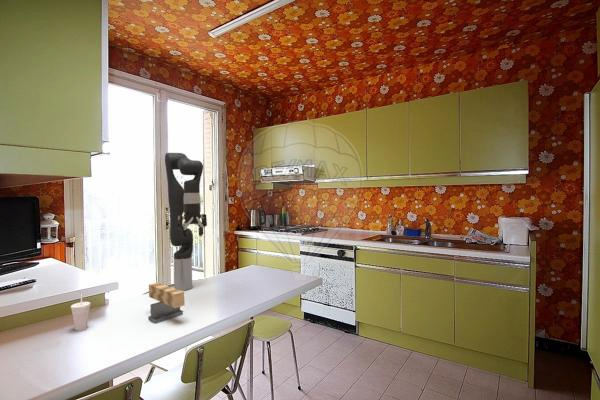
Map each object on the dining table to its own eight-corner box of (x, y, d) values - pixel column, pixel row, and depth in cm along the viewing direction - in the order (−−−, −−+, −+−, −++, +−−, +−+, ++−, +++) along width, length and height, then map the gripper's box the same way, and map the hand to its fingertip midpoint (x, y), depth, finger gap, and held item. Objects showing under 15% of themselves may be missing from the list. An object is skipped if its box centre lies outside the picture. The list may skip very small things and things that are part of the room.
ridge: (148, 320, 127) (148, 303, 127) (175, 311, 137) (175, 295, 137) (155, 323, 124) (155, 306, 124) (182, 314, 133) (182, 298, 133)
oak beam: (149, 296, 135) (148, 284, 135) (157, 294, 138) (157, 282, 138) (175, 308, 122) (174, 294, 122) (184, 305, 125) (184, 291, 125)
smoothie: (78, 333, 116) (77, 297, 115) (67, 331, 118) (66, 295, 118) (95, 326, 122) (94, 291, 121) (83, 324, 124) (82, 290, 124)
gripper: (200, 202, 152) (201, 234, 152) (173, 203, 141) (174, 238, 141) (209, 202, 147) (210, 235, 148) (182, 203, 136) (183, 239, 137)
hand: (192, 236), depth 145 cm, fingers open, 8 cm apart
